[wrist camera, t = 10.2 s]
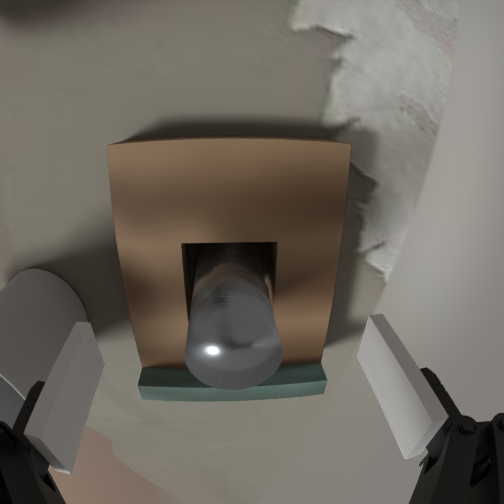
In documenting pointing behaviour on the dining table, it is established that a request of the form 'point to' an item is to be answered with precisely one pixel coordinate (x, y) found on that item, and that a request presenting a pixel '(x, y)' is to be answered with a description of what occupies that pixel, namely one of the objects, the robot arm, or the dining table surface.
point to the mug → (32, 333)
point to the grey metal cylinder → (231, 319)
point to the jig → (229, 230)
